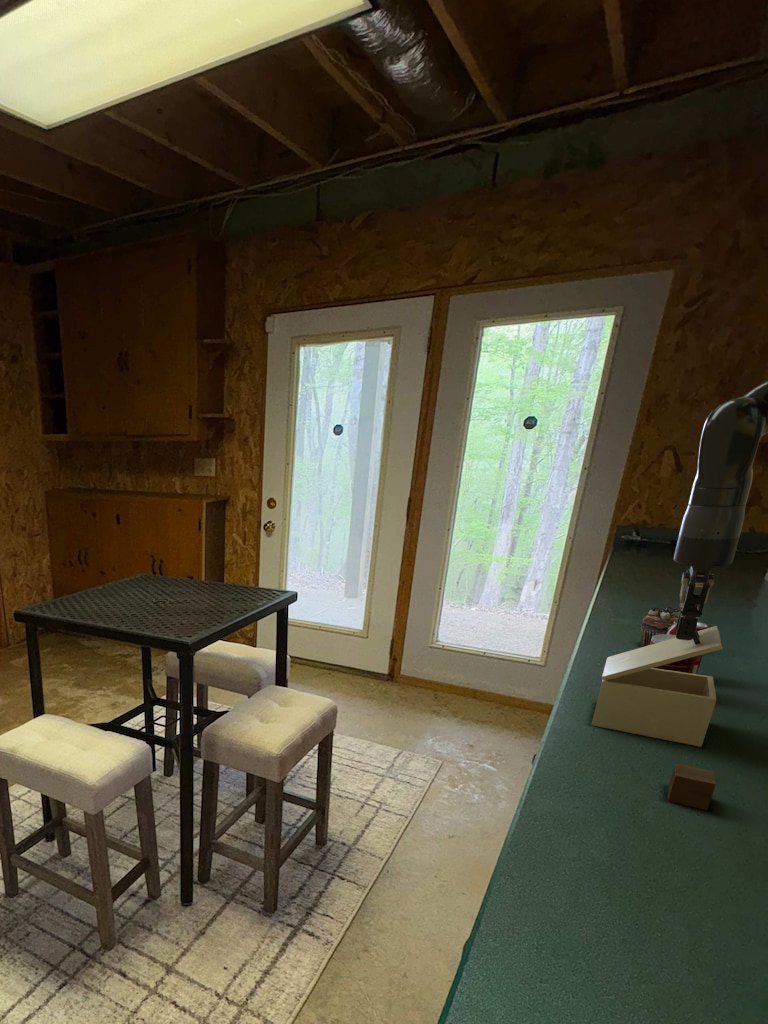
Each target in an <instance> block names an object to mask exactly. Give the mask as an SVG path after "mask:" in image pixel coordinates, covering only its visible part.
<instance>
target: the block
mask: <svg viewBox="0 0 768 1024" xmlns="http://www.w3.org/2000/svg"><path fill="white" fill-rule="evenodd" d="M715 775H716V774H715V770H711V769H710V770H709V769H705V768H700V767H695V766H691V765H686V764H681V763H675V764H674V767H673V770H672V774H671V777H670V780H669V783H668V787H667V801H668V802H671V803H675V804H678V805H683V806H687V807H691V808H696V809H699V810H704V811H708V810H709V806H710V803H711V801H712V797H713V795H714V791H715V788H716V786H717V785H716V784H717V782H716V776H715Z"/></svg>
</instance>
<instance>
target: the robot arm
mask: <svg viewBox="0 0 768 1024" xmlns="http://www.w3.org/2000/svg"><path fill="white" fill-rule="evenodd" d="M766 434H768V379H767V380H765V381H764V382H762V383H761V384H759V385H758V386H756V387H754V388H752V389H751V390H749V391H748V392H746V393H744V394H742V395H740V396H739V397H735V398H731V399H727V400H726V401H723V402H722V403H720V404H718V405H717V406H716V407H715V408H714V409H713V410H711V412H710V413H709V415H708V416H707V417H706V419H705V422H704V424H703V428H702V431H701V436H700V442H699V450H698V458H697V471H696V474H695V476H694V481H693V484H692V487H691V491H690V496H689V499H688V504H687V508H686V510H685V512H684V514H683V518H682V521H681V525H680V529H679V533H678V538H677V542H676V546H675V551H674V554H673V561H674V562H675V563H676V564H680V565H686V566H688V565H689V566H690V568H687V570H686V572H682V577H681V588H680V591H679V606H678V607H679V612H680V613H679V617H678V621H677V625H676V630H677V634H676V638H677V639H680V640H692V639H693V636H694V632H695V628H696V624H697V622H698V620H700V618H701V616H703V609H704V607H705V605H706V604H707V603H708V599H709V595H710V591H711V588H712V587H713V586H714V582H715V576H714V575H715V574H714V573H711V569H713V568H714V567H725V566H729V565H731V564H732V563H733V562H734V558H735V556H736V552H737V547H738V544H739V540H740V536H741V532H742V530H743V526H744V521H745V514H746V507H747V506H746V505H747V502H748V498H749V494H750V491H751V487H752V483H753V477H754V469H753V464H754V462H755V458H756V455H757V451H758V447H759V444H760V441H761V438H762V437H763V436H765V435H766Z"/></svg>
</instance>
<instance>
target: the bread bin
mask: <svg viewBox="0 0 768 1024" xmlns="http://www.w3.org/2000/svg"><path fill="white" fill-rule="evenodd" d="M716 703H717V694H716V688H715V681H714V676H712V675H703V674H698V673H697V674H691V673H684V672H677V671H670V670H663V669H656V668H650V669H646V670H642V671H638V672H635V673H631V674H627V675H623V676H620V677H616V678H612V679H609V680H605V681H604V680H603V679H602V680H601V684H600V688H599V693H598V696H597V701H596V704H595V709H594V713H593V716H592V722H591V726H593V727H599V728H603V729H609V730H614V731H619V732H625V733H629V734H635V735H640V736H643V737H644V736H645V737H650V738H655V739H659V740H666V741H669V742H676V743H680V744H686V745H691V746H696V747H699V748H702V747H703V744H704V740H705V738H706V734H707V731H708V728H709V725H710V721H711V718H712V715H713V712H714V709H715V706H716Z"/></svg>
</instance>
